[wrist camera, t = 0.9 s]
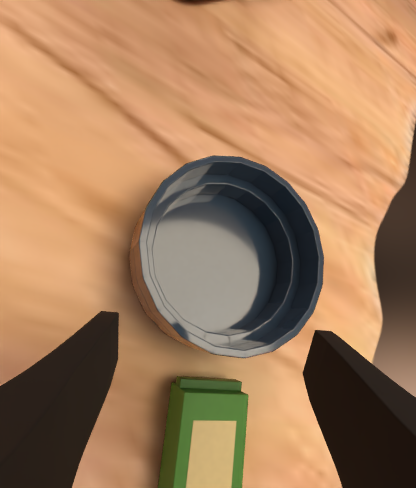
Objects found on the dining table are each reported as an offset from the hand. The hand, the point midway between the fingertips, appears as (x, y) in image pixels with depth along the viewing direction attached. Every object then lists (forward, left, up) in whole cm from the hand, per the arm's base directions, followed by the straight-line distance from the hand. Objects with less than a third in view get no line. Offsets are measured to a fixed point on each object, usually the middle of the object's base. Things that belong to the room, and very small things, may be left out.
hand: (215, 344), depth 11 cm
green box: (-8, -2, -12) cm, 15 cm away
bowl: (+4, -6, -12) cm, 14 cm away
